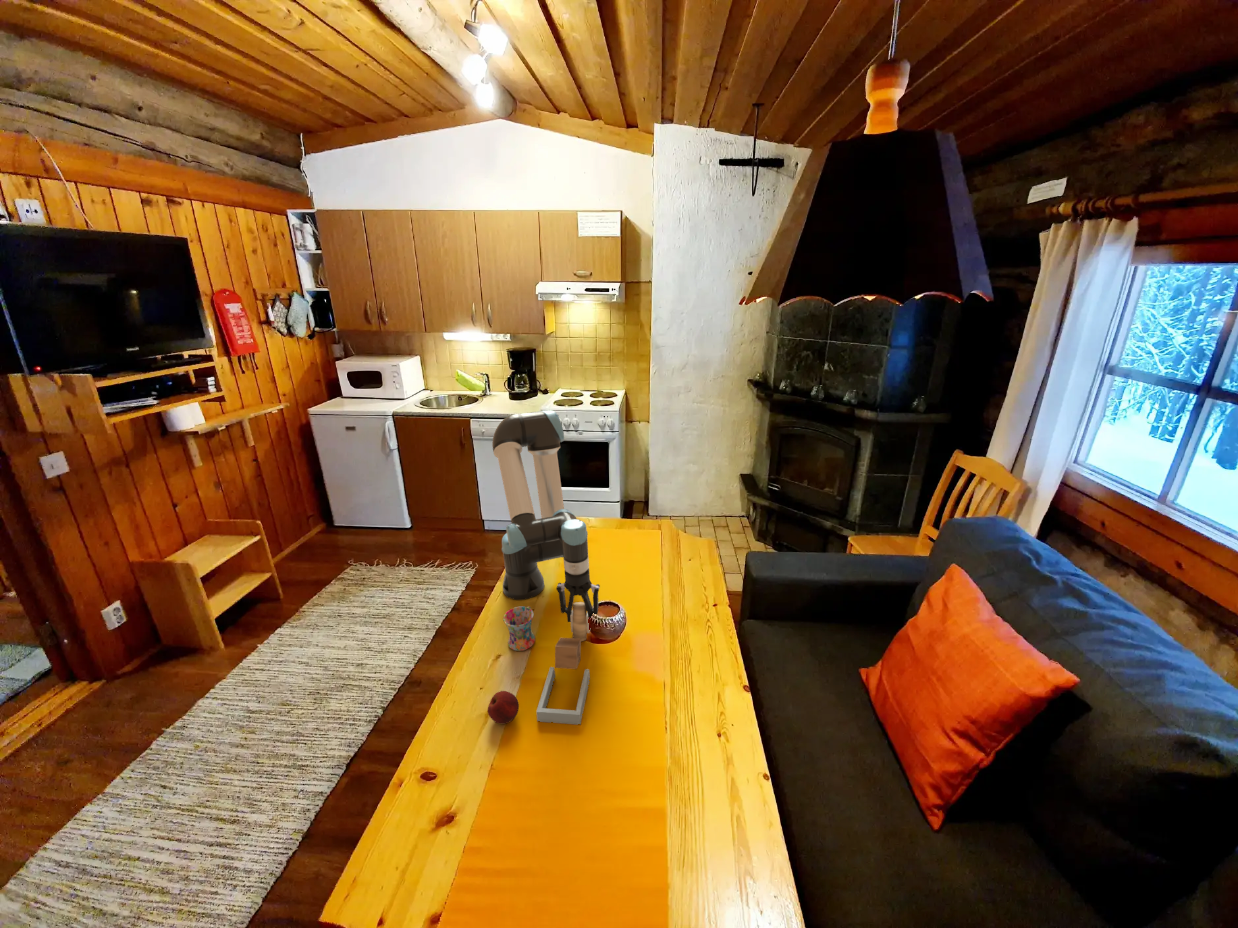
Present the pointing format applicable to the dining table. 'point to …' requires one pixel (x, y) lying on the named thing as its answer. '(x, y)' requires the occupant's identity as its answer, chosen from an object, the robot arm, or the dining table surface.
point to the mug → (519, 627)
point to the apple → (503, 707)
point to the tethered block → (572, 640)
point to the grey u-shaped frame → (560, 714)
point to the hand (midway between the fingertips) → (581, 629)
